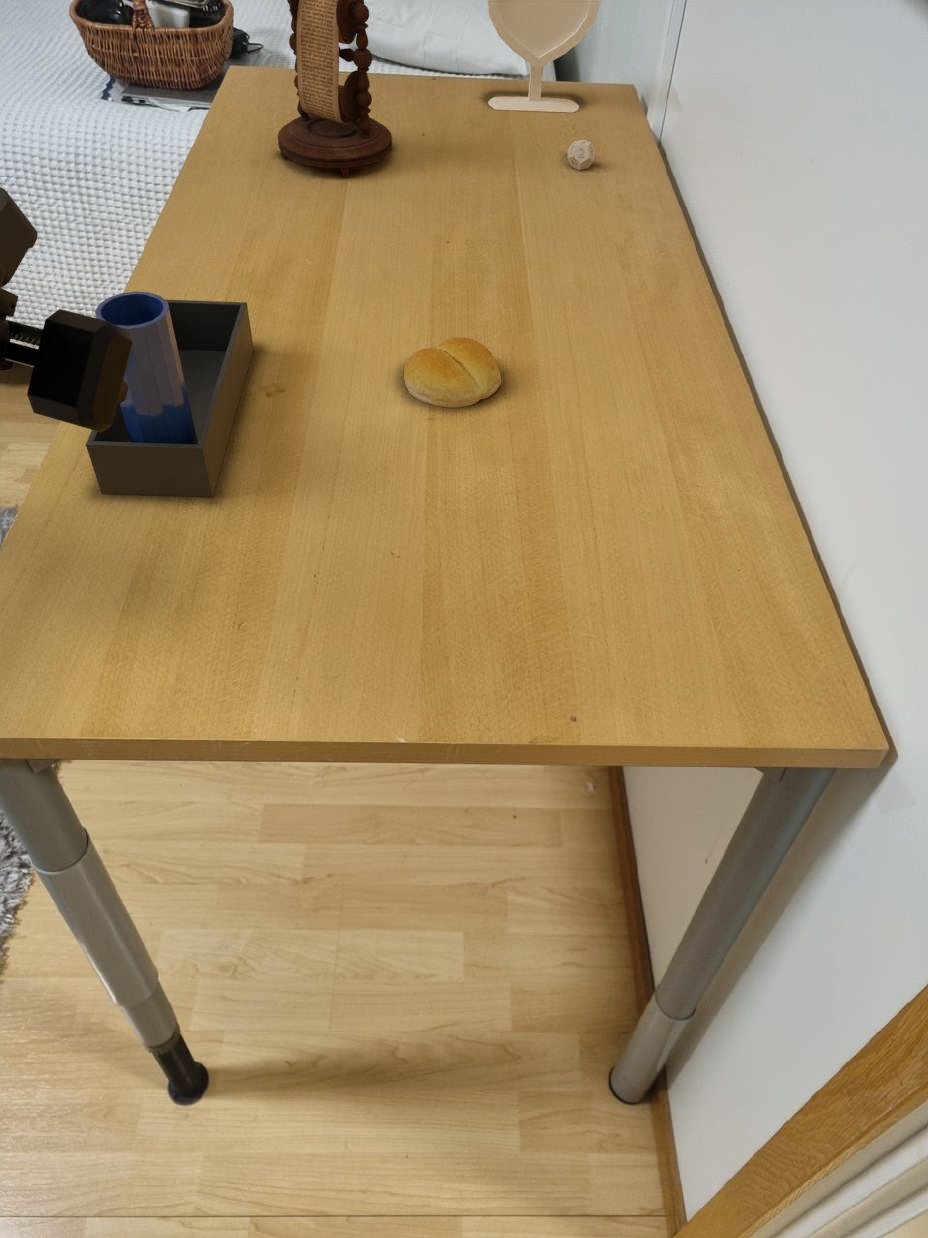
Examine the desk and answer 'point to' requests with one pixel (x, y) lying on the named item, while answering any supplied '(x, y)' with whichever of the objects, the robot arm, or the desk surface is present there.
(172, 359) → the cup
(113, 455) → the basket
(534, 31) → the heart sculpture
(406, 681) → the desk surface
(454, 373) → the bread roll
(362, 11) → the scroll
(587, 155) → the game die
